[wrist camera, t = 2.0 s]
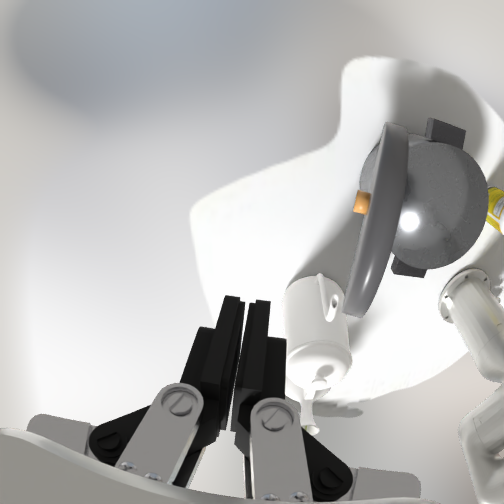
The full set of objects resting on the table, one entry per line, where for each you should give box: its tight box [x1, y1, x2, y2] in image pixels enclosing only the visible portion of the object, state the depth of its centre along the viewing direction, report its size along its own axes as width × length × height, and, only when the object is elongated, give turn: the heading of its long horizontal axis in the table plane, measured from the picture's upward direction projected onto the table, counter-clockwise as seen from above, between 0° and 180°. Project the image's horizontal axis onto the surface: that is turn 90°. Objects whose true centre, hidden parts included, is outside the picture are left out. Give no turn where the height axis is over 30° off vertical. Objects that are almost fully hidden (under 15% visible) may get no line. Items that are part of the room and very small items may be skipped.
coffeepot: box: [282, 273, 352, 399], centre depth 43 cm, size 11×25×19 cm, turn 0°
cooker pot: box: [360, 118, 489, 278], centre depth 35 cm, size 16×21×11 cm
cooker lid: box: [342, 122, 409, 318], centre depth 24 cm, size 17×17×3 cm
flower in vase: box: [285, 375, 331, 435], centre depth 51 cm, size 13×11×25 cm
